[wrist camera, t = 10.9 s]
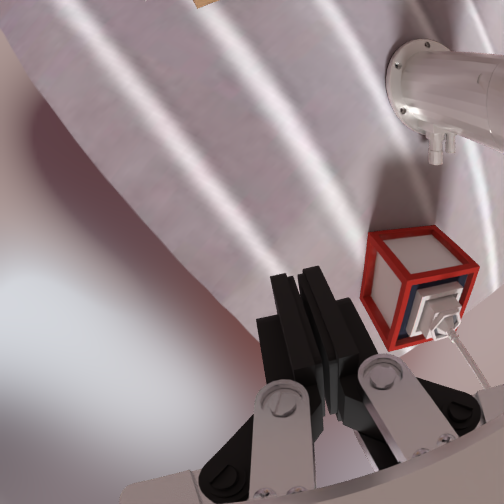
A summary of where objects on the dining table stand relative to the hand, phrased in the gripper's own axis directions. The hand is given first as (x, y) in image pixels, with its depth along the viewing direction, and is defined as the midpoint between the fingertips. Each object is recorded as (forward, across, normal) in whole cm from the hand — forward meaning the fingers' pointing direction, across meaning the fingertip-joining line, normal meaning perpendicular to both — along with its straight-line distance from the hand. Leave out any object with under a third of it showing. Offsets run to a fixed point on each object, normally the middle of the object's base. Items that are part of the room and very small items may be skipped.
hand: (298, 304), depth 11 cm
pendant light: (+27, -19, +21) cm, 39 cm away
